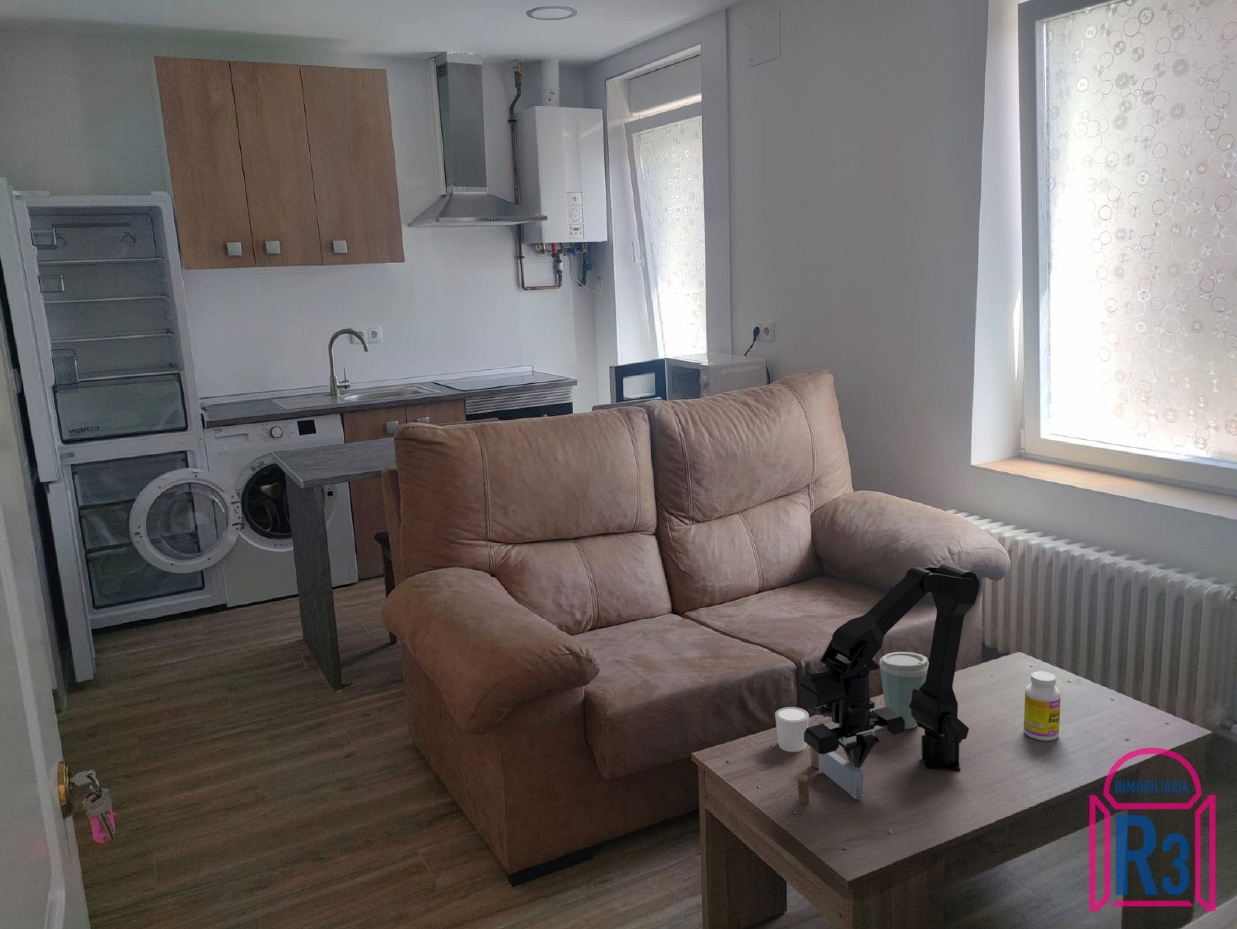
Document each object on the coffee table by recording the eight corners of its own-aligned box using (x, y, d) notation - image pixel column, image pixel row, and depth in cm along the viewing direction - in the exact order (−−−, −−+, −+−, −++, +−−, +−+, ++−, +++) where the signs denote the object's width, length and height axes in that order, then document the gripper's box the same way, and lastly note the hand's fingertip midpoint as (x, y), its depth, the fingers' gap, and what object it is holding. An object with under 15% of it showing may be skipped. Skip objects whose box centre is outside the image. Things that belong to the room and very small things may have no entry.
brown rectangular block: (808, 799, 172) (808, 774, 171) (808, 804, 170) (808, 779, 169) (799, 798, 172) (798, 774, 171) (798, 804, 170) (798, 779, 169)
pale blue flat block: (808, 763, 183) (808, 734, 182) (817, 761, 184) (817, 731, 183) (854, 801, 170) (854, 769, 168) (864, 798, 170) (864, 766, 169)
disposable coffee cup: (867, 719, 201) (867, 654, 198) (903, 706, 206) (903, 643, 203) (904, 739, 192) (904, 671, 189) (941, 725, 197) (941, 658, 194)
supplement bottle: (1050, 745, 186) (1052, 685, 184) (1017, 734, 191) (1019, 676, 188) (1064, 733, 190) (1067, 675, 188) (1032, 723, 195) (1034, 666, 193)
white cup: (809, 754, 188) (808, 722, 186) (775, 752, 189) (774, 721, 188) (809, 738, 194) (808, 707, 193) (776, 736, 196) (775, 706, 194)
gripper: (870, 667, 181) (871, 740, 184) (787, 688, 175) (789, 763, 178) (906, 690, 171) (906, 766, 174) (819, 712, 164) (821, 792, 168)
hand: (855, 771), depth 174 cm, fingers closed
